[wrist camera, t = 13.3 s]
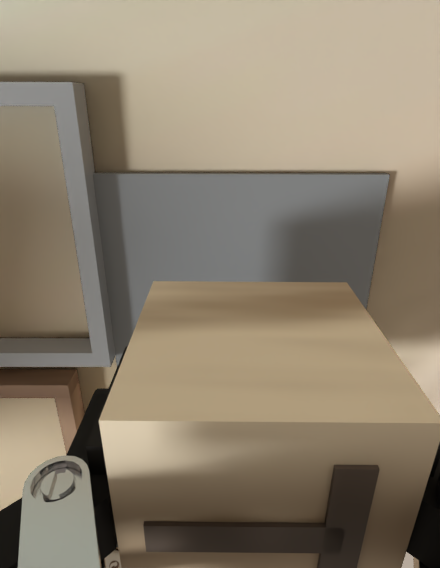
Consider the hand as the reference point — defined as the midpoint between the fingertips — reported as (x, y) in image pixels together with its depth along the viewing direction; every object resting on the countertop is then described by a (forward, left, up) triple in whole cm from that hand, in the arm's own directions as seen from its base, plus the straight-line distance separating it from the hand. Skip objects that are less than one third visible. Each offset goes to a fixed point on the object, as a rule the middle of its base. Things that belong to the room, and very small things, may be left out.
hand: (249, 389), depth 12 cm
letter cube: (0, 0, -1) cm, 1 cm away
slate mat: (0, 0, -6) cm, 6 cm away
